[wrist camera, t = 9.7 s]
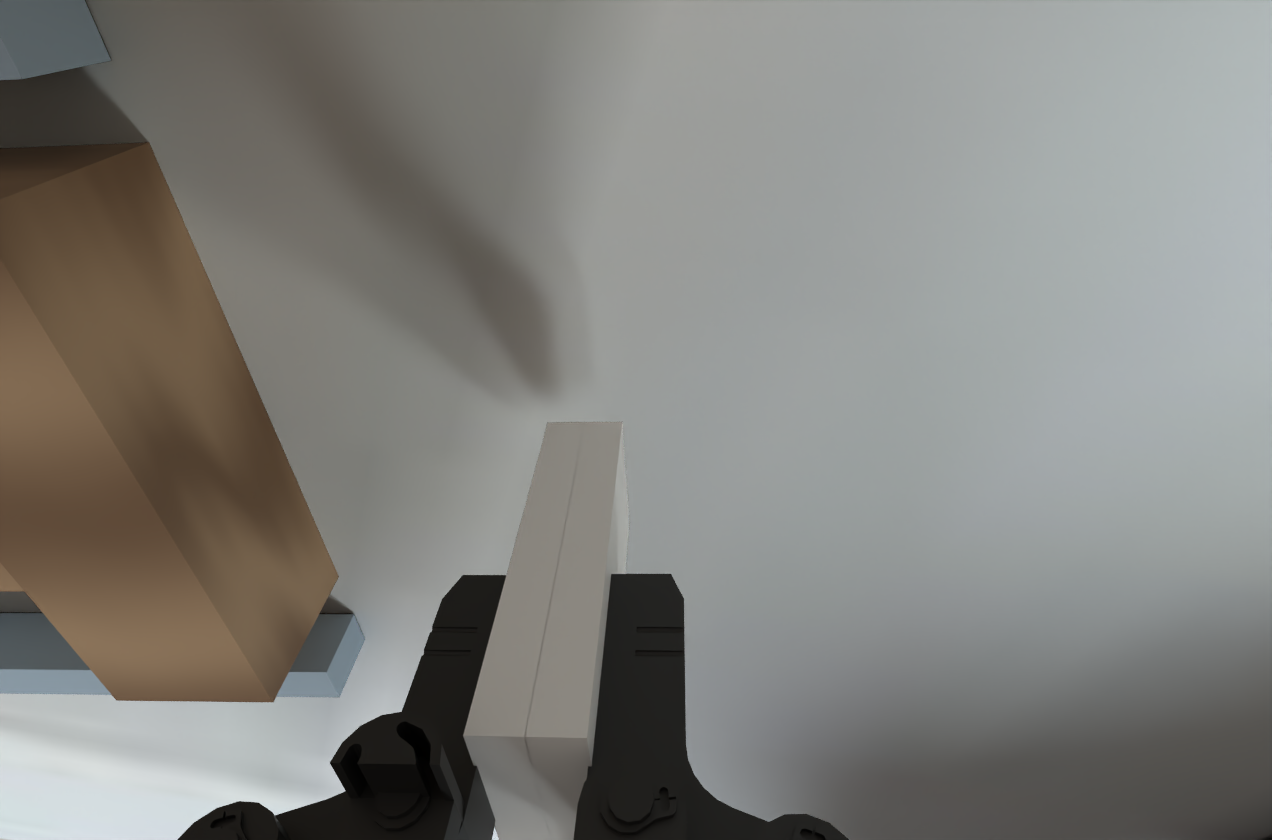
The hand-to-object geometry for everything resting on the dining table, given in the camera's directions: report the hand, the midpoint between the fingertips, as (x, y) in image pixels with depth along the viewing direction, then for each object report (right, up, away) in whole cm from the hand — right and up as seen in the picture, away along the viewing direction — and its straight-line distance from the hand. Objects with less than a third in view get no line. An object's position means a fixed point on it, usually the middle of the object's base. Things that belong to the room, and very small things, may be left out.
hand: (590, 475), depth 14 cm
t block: (-14, +1, +3) cm, 14 cm away
